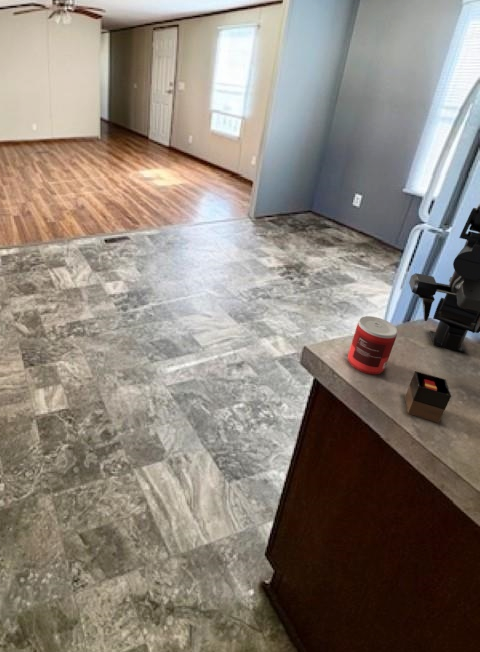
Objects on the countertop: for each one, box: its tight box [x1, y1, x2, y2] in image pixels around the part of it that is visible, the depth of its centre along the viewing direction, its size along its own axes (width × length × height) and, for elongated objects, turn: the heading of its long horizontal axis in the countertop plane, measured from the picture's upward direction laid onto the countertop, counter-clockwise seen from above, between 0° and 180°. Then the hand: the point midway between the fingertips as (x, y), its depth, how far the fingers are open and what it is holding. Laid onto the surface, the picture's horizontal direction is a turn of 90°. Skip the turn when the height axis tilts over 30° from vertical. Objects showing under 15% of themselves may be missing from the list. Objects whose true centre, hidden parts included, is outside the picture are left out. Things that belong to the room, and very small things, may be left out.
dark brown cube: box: [404, 384, 445, 424], centre depth 87 cm, size 5×5×4 cm
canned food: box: [347, 315, 399, 375], centre depth 98 cm, size 8×8×11 cm
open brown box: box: [409, 370, 452, 411], centre depth 85 cm, size 5×5×4 cm
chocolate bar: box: [421, 379, 437, 391], centre depth 85 cm, size 4×2×2 cm, turn 152°
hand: (450, 326), depth 95 cm, fingers open, 9 cm apart
